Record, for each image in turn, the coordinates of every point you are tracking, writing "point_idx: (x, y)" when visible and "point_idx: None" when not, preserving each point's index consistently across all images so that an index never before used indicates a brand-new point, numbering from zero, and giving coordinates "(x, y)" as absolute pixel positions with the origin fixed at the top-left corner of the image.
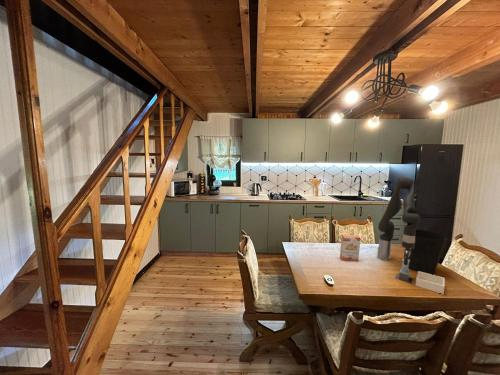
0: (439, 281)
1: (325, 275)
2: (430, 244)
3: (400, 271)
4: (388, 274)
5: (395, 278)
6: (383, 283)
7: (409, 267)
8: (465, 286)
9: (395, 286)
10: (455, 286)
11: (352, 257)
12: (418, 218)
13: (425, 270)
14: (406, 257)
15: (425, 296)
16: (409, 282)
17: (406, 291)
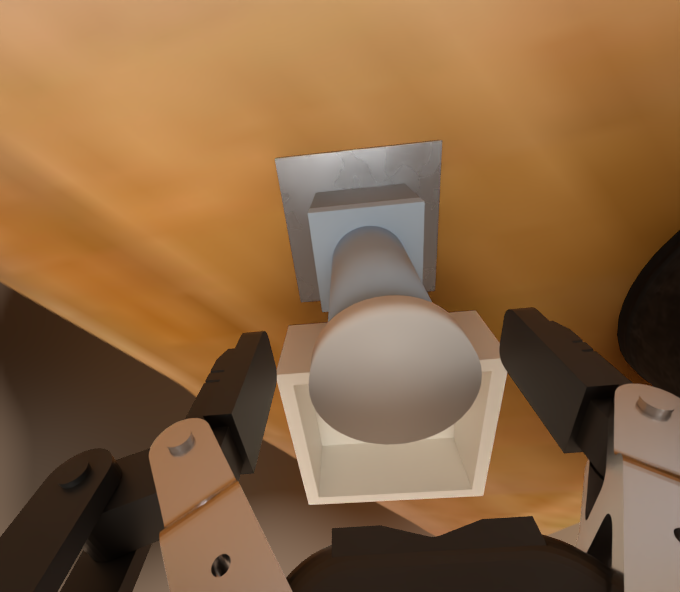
0: (461, 444)
1: None
2: None
3: (314, 222)
4: (366, 47)
5: (283, 164)
6: (58, 83)
7: None
8: (535, 498)
9: (129, 206)
10: (499, 472)
11: None
12: None
13: (647, 363)
14: (551, 371)
15: (194, 389)
16: (306, 287)
17: (136, 295)
